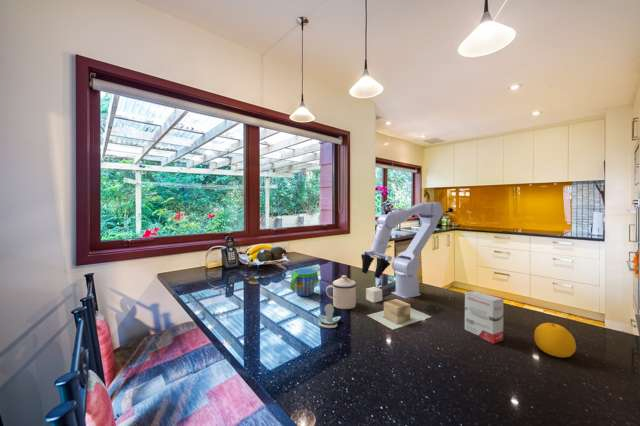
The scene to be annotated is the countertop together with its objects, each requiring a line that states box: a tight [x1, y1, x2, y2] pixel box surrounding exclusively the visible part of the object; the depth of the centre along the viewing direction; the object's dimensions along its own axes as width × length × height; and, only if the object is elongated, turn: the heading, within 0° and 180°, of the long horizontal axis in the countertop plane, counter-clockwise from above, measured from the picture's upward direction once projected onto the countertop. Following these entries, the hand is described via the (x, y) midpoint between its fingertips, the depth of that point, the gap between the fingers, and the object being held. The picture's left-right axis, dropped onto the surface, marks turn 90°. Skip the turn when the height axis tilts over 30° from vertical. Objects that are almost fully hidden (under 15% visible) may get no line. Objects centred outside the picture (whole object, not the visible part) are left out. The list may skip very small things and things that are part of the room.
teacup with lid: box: [325, 275, 357, 310], centre depth 98 cm, size 12×9×12 cm
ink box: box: [464, 290, 504, 344], centre depth 74 cm, size 8×5×12 cm, turn 26°
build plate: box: [366, 307, 432, 330], centre depth 87 cm, size 18×12×1 cm, turn 119°
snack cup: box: [289, 267, 319, 297], centre depth 112 cm, size 16×10×10 cm
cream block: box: [365, 286, 383, 303], centre depth 102 cm, size 4×4×5 cm
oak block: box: [383, 298, 411, 324], centre depth 85 cm, size 6×6×5 cm
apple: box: [533, 322, 577, 359], centre depth 65 cm, size 8×8×8 cm
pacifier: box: [317, 303, 342, 329], centre depth 82 cm, size 7×6×6 cm
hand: (370, 275), depth 101 cm, fingers open, 7 cm apart
